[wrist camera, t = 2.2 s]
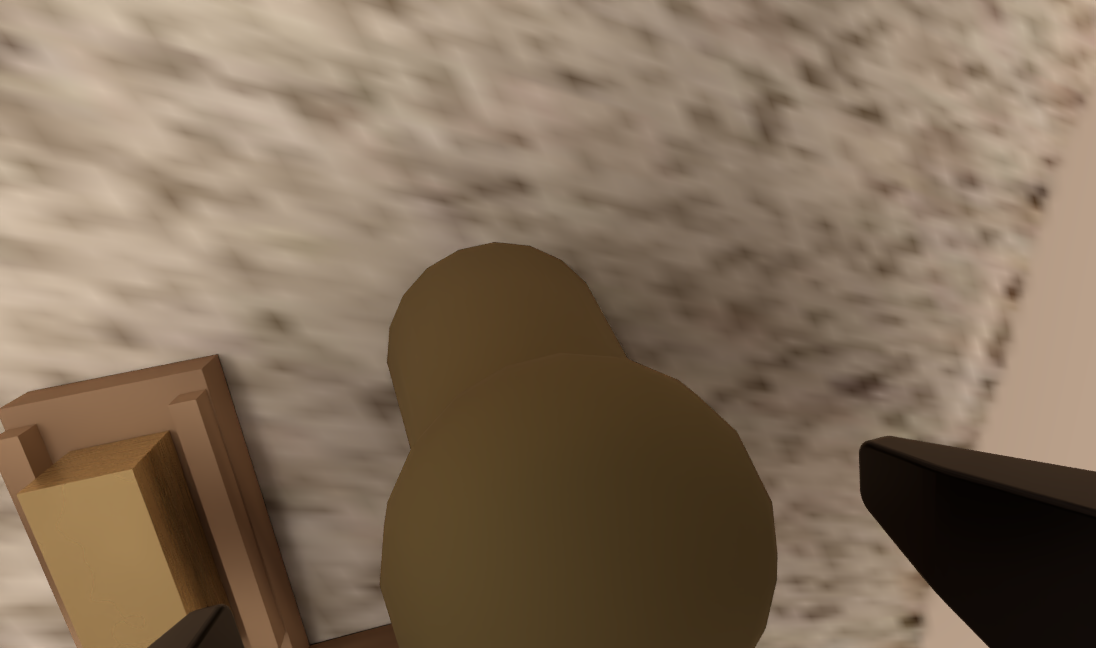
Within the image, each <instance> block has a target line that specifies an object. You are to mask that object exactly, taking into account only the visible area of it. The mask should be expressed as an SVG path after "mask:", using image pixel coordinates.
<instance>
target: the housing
mask: <svg viewBox="0 0 1096 648" xmlns="http://www.w3.org/2000/svg"><path fill="white" fill-rule="evenodd" d="M0 419H1V422H2V424H3V426H4V429H5V432H3V433H2V434H0V472H1V475H2V477H3V479H4V482H5V484H6V486H7V489H8V491H9V493H10V495H11V498H12V500H13V502H14V505H15V507H16V509H17V511H18V514H19V516H20V518H21V521H22V523H23V525H24V527H25V530H26V532H27V534H28V537H29V539H30V541H31V543H32V546H33V548H34V550H35V553H36V555H37V557H38V559H39V562H40V564H41V566H42V569H43V571H44V573H45V576H46V578H47V580H48V582H49V585H50V587H51V589H52V592H53V594H54V596H55V598H56V601H57V603H58V605H59V608H60V610H61V612H62V614H63V617H64V619H65V621H66V624H67V626H68V628H69V630H70V633H71V635H72V637H73V640H74V642H75V644H76V646H77V648H83V647H82V645H81V642H80V640H79V638H78V635H77V633H76V631H75V629H74V626H73V624H72V622H71V619H70V617H69V615H68V612H67V610H66V608H65V606H64V603H63V601H62V599H61V596H60V594H59V592H58V589H57V587H56V585H55V582H54V580H53V578H52V576H51V573H50V571H49V569H48V566H47V564H46V562H45V559H44V557H43V555H42V553H41V550H40V548H39V546H38V543H37V541H36V539H35V536H34V534H33V532H32V529H31V527H30V525H29V523H28V520H27V518H26V516H25V513H24V511H23V509H22V506H21V504H20V502H19V499H18V497H17V495H16V494H17V493H19V492H20V491H21V490H22V489H24V488H25V487H26V486H27V485H29V484H30V483H31V482H32V481H33V480H35V479H36V478H37V477H38V476H40V475H41V474H42V473H43V472H45V471H46V470H47V469H48V468H50V467H51V466H52V465H53V464H54V463H56V462H57V461H58V460H59V459H61V458H62V457H63V456H64V455H66V454H67V453H68V452H70V451H75V450H80V449H84V448H89V447H94V446H99V445H103V444H108V443H113V442H117V441H122V440H127V439H132V438H136V437H141V436H146V435H150V434H155V433H160V432H165V431H169V432H170V435H171V438H172V441H173V444H174V447H175V449H176V452H177V455H178V458H179V461H180V464H181V467H182V469H183V472H184V475H185V478H186V481H187V484H188V487H189V489H190V492H191V495H192V498H193V501H194V504H195V507H196V509H197V512H198V515H199V518H200V521H201V524H202V526H203V529H204V532H205V535H206V538H207V541H208V544H209V546H210V549H211V552H212V555H213V558H214V561H215V564H216V566H217V569H218V572H219V575H220V578H221V581H222V584H223V586H224V589H225V592H226V595H227V598H228V601H229V604H230V606H231V609H232V612H233V615H234V618H235V621H236V624H237V626H238V629H239V632H240V635H241V638H242V642H243V645H244V647H245V648H399V646H398V643H397V639H396V636H395V633H394V630H393V626H392V624H389V625H386V626H382V627H378V628H374V629H370V630H367V631H363V632H359V633H355V634H352V635H348V636H344V637H340V638H336V639H333V640H329V641H325V642H321V643H318V644H314V645H309V642H308V639H307V636H306V633H305V630H304V626H303V623H302V620H301V617H300V614H299V611H298V608H297V604H296V601H295V598H294V595H293V592H292V589H291V585H290V582H289V579H288V576H287V573H286V570H285V566H284V563H283V560H282V557H281V554H280V551H279V547H278V544H277V541H276V538H275V535H274V532H273V528H272V525H271V522H270V519H269V516H268V513H267V510H266V506H265V503H264V500H263V497H262V494H261V491H260V487H259V484H258V481H257V478H256V475H255V472H254V468H253V465H252V462H251V459H250V456H249V453H248V449H247V446H246V443H245V440H244V437H243V434H242V431H241V427H240V424H239V421H238V418H237V415H236V412H235V408H234V405H233V402H232V399H231V396H230V393H229V389H228V386H227V383H226V380H225V377H224V374H223V370H222V367H221V364H220V361H219V358H218V355H212V356H207V357H202V358H197V359H192V360H187V361H181V362H176V363H171V364H166V365H161V366H156V367H151V368H146V369H141V370H136V371H131V372H126V373H121V374H116V375H111V376H106V377H101V378H96V379H91V380H86V381H81V382H76V383H71V384H66V385H61V386H55V387H50V388H45V389H40V390H35V391H30V392H27V393H25V394H24V395H22V396H20V397H18V398H17V399H15V400H13V401H12V402H10V403H8V404H6V405H5V406H3V407H1V408H0Z"/></svg>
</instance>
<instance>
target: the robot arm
mask: <svg viewBox="0 0 1096 648" xmlns="http://www.w3.org/2000/svg"><path fill="white" fill-rule="evenodd" d="M859 469H860V492H861V497H862V500H863V503H864V504H865V506H866V508H867V509H868V511H869V512H870V513H871V514H872V516H873V517H874V518H875V519H876V521H877V522H878V523H879V524H880V525H881V527H882V528H883V529H884V530H885V532H886V533H887V534H888V535H889V537H890V538H891V539H892V540H893V541H894V543H895V544H896V545H897V546H898V548H899V549H900V550H901V551H902V552H903V554H904V555H905V556H906V557H907V559H908V560H909V561H910V562H911V564H912V565H913V566H914V567H915V568H916V570H917V571H918V572H919V573H920V575H921V576H922V577H923V578H924V579H925V581H926V582H927V583H928V584H929V585H930V586H931V587H932V589H933V590H934V591H935V592H936V593H937V594H938V595H939V596H940V597H941V599H942V600H943V601H944V602H945V603H946V604H947V605H948V606H949V607H950V608H951V609H952V610H953V611H954V612H955V613H956V614H957V615H958V616H959V617H960V618H961V619H962V620H963V621H964V622H965V623H966V624H967V625H968V626H969V627H970V628H971V629H972V630H973V632H974V633H975V634H976V635H977V636H978V637H979V638H980V639H981V640H982V641H983V642H984V643H985V644H986V645H987V646H988V647H989V648H1096V472H1095V471H1089V470H1083V469H1077V468H1071V467H1066V466H1060V465H1055V464H1049V463H1043V462H1037V461H1031V460H1026V459H1020V458H1014V457H1009V456H1003V455H997V454H991V453H986V452H980V451H974V450H968V449H963V448H957V447H951V446H945V445H940V444H934V443H928V442H922V441H916V440H911V439H905V438H899V437H893V436H884V437H880V438H876V439H872V440H868V441H865V442H864V443H863V444H862V445H861V446H860V450H859ZM147 648H245V647H244V645H243V642H242V639H241V636H240V633H239V630H238V627H237V624H236V622H235V619H234V616H233V613H232V611H231V609H230V608H229V607H228V606H227V605H225V604H217V605H213V606H209V607H205V608H201V609H197V610H194V611H192V612H190V613H189V614H187V615H186V616H185V617H184V618H182V619H181V620H180V621H179V622H178V623H176V624H175V625H174V626H173V627H172V628H170V629H169V630H168V631H167V632H165V633H164V634H163V635H162V636H161V637H159V638H158V639H157V640H156V641H155V642H153V643H152V644H151V645H150V646H149V647H147Z"/></svg>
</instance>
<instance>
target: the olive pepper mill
mask: <svg viewBox="0 0 1096 648" xmlns="http://www.w3.org/2000/svg"><path fill="white" fill-rule="evenodd" d="M387 364H388V367H389V371H390V375H391V378H392V382H393V386H394V389H395V393H396V397H397V400H398V404H399V408H400V411H401V415H402V419H403V423H404V426H405V430H406V434H407V437H408V441H409V445H410V448H411V450H410V452H409V455H408V457H407V459H406V461H405V464H404V466H403V468H402V470H401V473H400V475H399V477H398V479H397V482H396V484H395V486H394V488H393V491H392V493H391V495H390V497H389V500H388V502H387V509H386V516H385V523H384V534H383V547H382V561H381V575H380V587H381V591H382V594H383V597H384V600H385V604H386V607H387V610H388V613H389V617H390V620H391V623H392V626H393V630H394V633H395V636H396V639H397V643H398V646H399V648H755V646H756V644H757V643H758V641H759V639H760V637H761V636H762V634H763V632H764V630H765V628H766V625H767V620H768V616H769V612H770V607H771V603H772V598H773V594H774V590H775V585H776V581H777V545H776V535H775V526H774V516H773V506H772V501H771V499H770V497H769V495H768V493H767V491H766V489H765V487H764V485H763V483H762V481H761V479H760V477H759V475H758V473H757V471H756V469H755V467H754V465H753V463H752V461H751V459H750V457H749V455H748V453H747V451H746V449H745V447H744V445H743V443H742V441H741V439H740V437H739V435H738V433H737V431H736V430H734V429H733V428H732V427H731V426H730V425H729V424H728V423H727V422H726V421H725V420H724V419H723V418H721V417H720V416H719V415H718V414H717V413H716V412H715V411H714V410H713V409H712V408H711V407H710V406H708V405H707V404H706V403H705V402H704V401H703V400H702V399H701V398H700V397H699V396H698V395H697V394H695V393H694V392H693V391H692V390H690V389H689V388H688V387H686V386H685V385H684V384H683V383H681V382H680V381H679V380H677V379H675V378H672V377H670V376H667V375H665V374H663V373H660V372H658V371H655V370H653V369H651V368H648V367H646V366H643V365H641V364H639V363H636V362H634V361H631V360H629V359H627V357H626V355H625V353H624V351H623V349H622V348H621V346H620V344H619V342H618V340H617V339H616V337H615V335H614V333H613V331H612V329H611V328H610V326H609V324H608V322H607V320H606V319H605V317H604V315H603V313H602V311H601V309H600V308H599V306H598V304H597V302H596V300H595V298H594V297H593V295H592V293H591V291H590V289H589V288H588V286H587V284H586V283H585V282H584V281H583V280H582V279H581V278H580V277H579V276H578V275H577V274H576V273H575V272H574V271H573V270H571V269H570V268H569V267H568V266H567V265H566V264H565V263H564V262H563V261H562V260H560V259H558V258H556V257H553V256H551V255H549V254H547V253H544V252H542V251H540V250H538V249H536V248H533V247H531V246H526V245H516V244H506V243H497V242H493V243H489V244H484V245H479V246H475V247H470V248H466V249H461V250H458V251H456V252H455V253H453V254H451V255H449V256H448V257H446V258H444V259H442V260H441V261H439V262H437V263H436V264H434V265H432V266H430V267H429V268H427V269H426V270H425V272H424V273H423V274H422V275H421V276H420V277H419V278H418V279H417V281H416V282H415V283H414V284H413V285H412V286H411V287H410V288H409V290H408V291H407V292H406V293H405V294H404V295H403V297H402V300H401V302H400V304H399V307H398V309H397V311H396V314H395V316H394V318H393V321H392V323H391V326H390V328H389V342H388V357H387Z"/></svg>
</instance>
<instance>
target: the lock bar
mask: <svg viewBox="0 0 1096 648" xmlns="http://www.w3.org/2000/svg"><path fill="white" fill-rule="evenodd" d="M16 495H17V497H18V499H19V502H20V504H21V506H22V509H23V511H24V513H25V516H26V518H27V520H28V523H29V525H30V527H31V529H32V532H33V534H34V536H35V539H36V541H37V543H38V546H39V548H40V550H41V553H42V555H43V557H44V559H45V562H46V564H47V566H48V569H49V571H50V573H51V576H52V578H53V580H54V582H55V585H56V587H57V589H58V592H59V594H60V596H61V599H62V601H63V603H64V606H65V608H66V610H67V612H68V615H69V617H70V619H71V622H72V624H73V626H74V629H75V631H76V633H77V635H78V638H79V640H80V642H81V645H82V647H83V648H147V647H149V646H150V645H151V644H152V643H153V642H155V641H156V640H157V639H158V638H159V637H161V636H162V635H163V634H164V633H165V632H167V631H168V630H169V629H170V628H172V627H173V626H174V625H175V624H176V623H178V622H179V621H180V620H181V619H182V618H184V617H185V616H186V615H187V614H189V613H190V612H192V611H194V610H197V609H201V608H205V607H209V606H213V605H217V604H225V605H227V606H228V607H229V608H230V609H231V606H230V604H229V601H228V598H227V595H226V592H225V589H224V586H223V584H222V581H221V578H220V575H219V572H218V569H217V566H216V564H215V561H214V558H213V555H212V552H211V549H210V546H209V544H208V541H207V538H206V535H205V532H204V529H203V526H202V524H201V521H200V518H199V515H198V512H197V509H196V507H195V504H194V501H193V498H192V495H191V492H190V489H189V487H188V484H187V481H186V478H185V475H184V472H183V469H182V467H181V464H180V461H179V458H178V455H177V452H176V449H175V447H174V444H173V441H172V438H171V435H170V432H169V431H165V432H160V433H155V434H150V435H146V436H141V437H136V438H132V439H127V440H122V441H117V442H113V443H108V444H103V445H99V446H94V447H89V448H84V449H80V450H75V451H70V452H68V453H67V454H66V455H64V456H63V457H62V458H61V459H59V460H58V461H57V462H56V463H54V464H53V465H52V466H51V467H50V468H48V469H47V470H46V471H45V472H43V473H42V474H41V475H40V476H38V477H37V478H36V479H35V480H33V481H32V482H31V483H30V484H29V485H27V486H26V487H25V488H24V489H22V490H21V491H20V492H19V493H17V494H16ZM231 611H232V609H231ZM232 613H233V612H232ZM233 616H234V615H233ZM234 619H235V618H234ZM235 622H236V621H235ZM237 627H238V626H237ZM238 630H239V629H238ZM239 633H240V632H239ZM240 636H241V635H240ZM241 639H242V638H241Z"/></svg>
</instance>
